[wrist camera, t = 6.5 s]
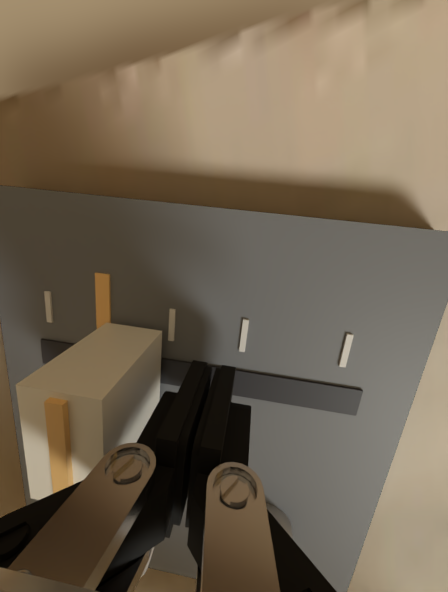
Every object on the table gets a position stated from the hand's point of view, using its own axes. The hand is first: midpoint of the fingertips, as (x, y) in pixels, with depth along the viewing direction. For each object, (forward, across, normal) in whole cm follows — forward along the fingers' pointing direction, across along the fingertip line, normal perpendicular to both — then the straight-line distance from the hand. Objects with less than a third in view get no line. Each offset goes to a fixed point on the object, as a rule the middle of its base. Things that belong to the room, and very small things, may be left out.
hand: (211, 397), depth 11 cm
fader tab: (+1, +4, 0) cm, 4 cm away
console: (+3, +1, +3) cm, 5 cm away
